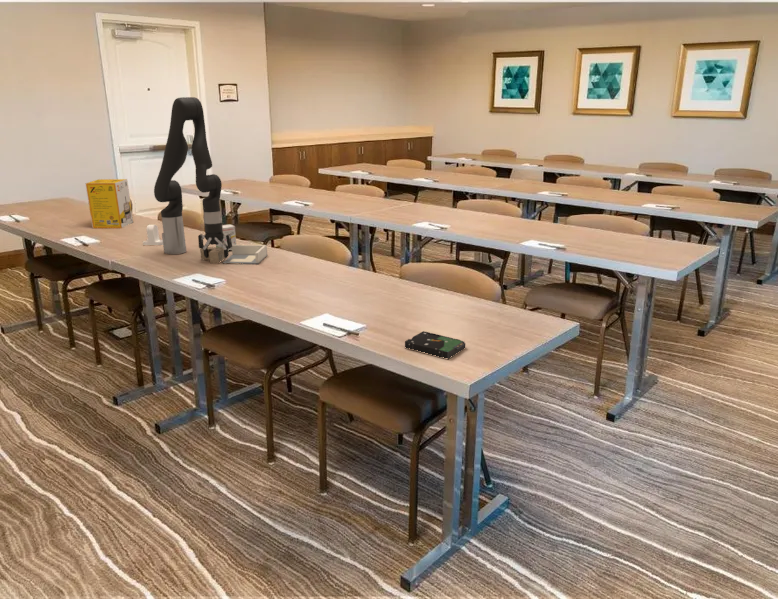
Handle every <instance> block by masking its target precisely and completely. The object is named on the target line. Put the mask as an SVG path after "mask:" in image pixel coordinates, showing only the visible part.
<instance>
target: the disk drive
mask: <svg viewBox="0 0 778 599" xmlns="http://www.w3.org/2000/svg"><path fill="white" fill-rule="evenodd" d="M405 347H406V348H410V349H414V350H418V351H421V352H425V353H428V354H427V355H429V354H432V355H431V356H433V355H436V356H439V357H438V358H440V357H444V358H450V357H451V356H453V355H454V356H456V355H457V354H459V353H460V352H462V351H464V348H465V349H466V342H465V340H464V341H463V340H460V339H457V338H454V337H451V336H450V337H449V336H445V335H441V334H437V333H432V332H429V331H424V330H423V331H421V332H419V333H417V334H415V335H414V336H412V337H411V338H408V339H406V340H405V341H404V348H405ZM406 348H405V349H406ZM414 350H413V351H414ZM461 350H462V351H461ZM459 351H460V352H459ZM421 352H420V353H421ZM458 352H459V353H458ZM425 353H424V354H425ZM456 353H457V354H456ZM455 354H456V355H455ZM436 356H435V357H436ZM454 356H453V357H454ZM444 358H443V359H444ZM451 358H452V357H451ZM451 358H450V359H451Z"/></svg>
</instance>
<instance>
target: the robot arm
mask: <svg viewBox="0 0 778 599" xmlns="http://www.w3.org/2000/svg"><path fill="white" fill-rule="evenodd" d="M204 114H205V113H204V107H203V105H202V102H201V101H200V99H198V98H197V97H194V96H191V97H190V96H188V97H187V96H184V97H176V98H175V99H174V101H173V103H172V107H171V113H170V123H169V130H168V134H167V135H168V136H167V139H166V142H165V148H164V153H163V158H162V162H161V166H160V169H159V172H158V176H157V177H156V181H155V183H154V188H153V193H154V194H153V195H154V198H155V200H156V201H157V202H159V203H168V204H167V206H166V207H165V208H164V207H163V209H161V211H160V217H161V224H162V225H161V226H162V233H161V237H162V239H161V240H163V246H162V247H163V253H164V254H167V255H181V254H185V253H187V244H186V236H185V227H184V221H183V220H184V219H183V207H184V206H183V194H182V188H181V184H180V182H178V181H177V180H174V179H173V177H174V176H175V175H176V173H177V172H179V171H180V169H181V168H182V167H183V165H184V164H185V162H186V160H187V155H188V152H189V151H188V150H189V145H188V142H187V139H186V137H185V135H184V126H185V123H186V121H192V124H193V127H194V133H193V139H192V143H191V155H192V158H193V162H194V166H195V185H196V188H197V190H198V191H199V192H200V193H205V194H206V193H208V196H206V197H204V198H203V199H202V210H203V225H204V226H203V227H204V233H205V234H202V233H200V234H199V235H198V236H197V238H198V240H197V241H198V248H199V249H203V250H204V256H205V257H206V258H208V257H209V254H208V249H207V248H208V247H210V245H212V246H213V245H215V246H216V245H218V244H220V246H222V247H223V248H224V258H225V259H228V258H229V251H228V249H230V248H231V247H232V241H231V235H230V234H228V235H224V234H223V228H222V225H223V218H222V213H221V207H220V206H221V205H220V199H221V194H222V185H223V183H222V180H221V177H220V176H219V175H218V174H214V173H213V174H207V170H209V169H212V168H213V161H212V157H211V154H210V150H209V147H208V140H207V131H206V124H205V115H204ZM172 179H173V180H172ZM223 238H225V239H226V240H227V245H228V246H227V245H226V243H225V242H224V241H223ZM204 240H206V242H205V244H204Z"/></svg>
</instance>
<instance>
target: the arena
mask: <svg viewBox="0 0 778 599" xmlns="http://www.w3.org/2000/svg"><path fill="white" fill-rule="evenodd" d="M266 256H267V257H268V246H267V244H236V245H232V251H231V255H230V256H228V257H227V258H226V259H224V260H223V262H222V264H223V263H241V264H240V265H260V264H261V263H262V262H263V261H264V260H265V259H266V258H267V257H266ZM265 257H266V258H265ZM264 258H265V259H264ZM263 259H264V260H263ZM262 260H263V261H262ZM261 261H262V262H261ZM260 262H261V263H260ZM242 263H243V264H242ZM259 263H260V264H259Z"/></svg>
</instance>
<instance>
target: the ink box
mask: <svg viewBox="0 0 778 599" xmlns="http://www.w3.org/2000/svg"><path fill="white" fill-rule="evenodd" d="M222 228H223V234H224V235H228V234H230V235H231V241H232V245H237V237H236V226H235V225H233V224H230V223H229V224H222ZM223 241H224V242H225V243H226V245H227V240H226V239H225V238H223ZM227 246H228V245H227ZM215 247H222V246H220V244H218V245H216V244H215ZM229 250H232V247H231V248H230V249H228V252H230V251H229Z"/></svg>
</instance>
